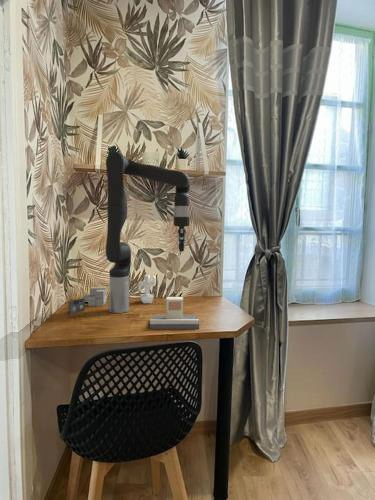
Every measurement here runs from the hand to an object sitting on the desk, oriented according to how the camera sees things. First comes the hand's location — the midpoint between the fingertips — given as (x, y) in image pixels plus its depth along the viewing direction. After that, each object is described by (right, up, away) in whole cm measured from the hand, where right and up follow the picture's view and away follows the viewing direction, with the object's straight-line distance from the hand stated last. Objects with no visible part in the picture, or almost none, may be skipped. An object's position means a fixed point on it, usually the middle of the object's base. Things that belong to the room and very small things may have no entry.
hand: (181, 250), depth 147 cm
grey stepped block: (-47, -29, +19) cm, 59 cm away
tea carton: (-3, -29, -14) cm, 32 cm away
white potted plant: (-19, -29, +23) cm, 41 cm away
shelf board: (-3, -31, -15) cm, 35 cm away
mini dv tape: (-50, -30, +2) cm, 59 cm away
